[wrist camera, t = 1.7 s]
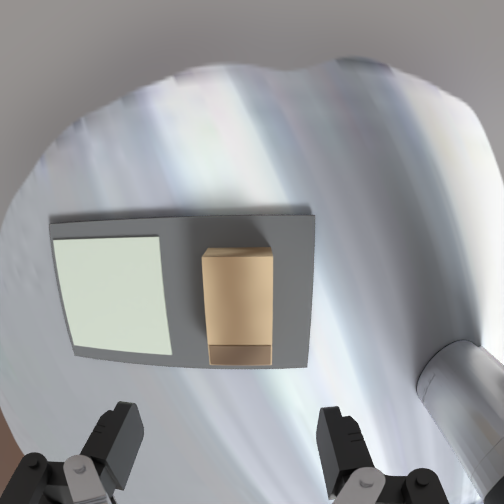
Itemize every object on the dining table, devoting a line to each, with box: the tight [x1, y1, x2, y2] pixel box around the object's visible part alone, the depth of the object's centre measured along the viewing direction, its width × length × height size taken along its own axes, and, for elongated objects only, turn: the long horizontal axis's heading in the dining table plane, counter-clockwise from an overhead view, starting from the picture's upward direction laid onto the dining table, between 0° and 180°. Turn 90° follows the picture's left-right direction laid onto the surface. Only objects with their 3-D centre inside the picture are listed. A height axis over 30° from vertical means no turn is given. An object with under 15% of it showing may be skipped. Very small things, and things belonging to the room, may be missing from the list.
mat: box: [49, 215, 315, 369], centre depth 26 cm, size 24×14×1 cm, turn 91°
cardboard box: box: [202, 247, 273, 365], centre depth 24 cm, size 5×9×3 cm, turn 1°
